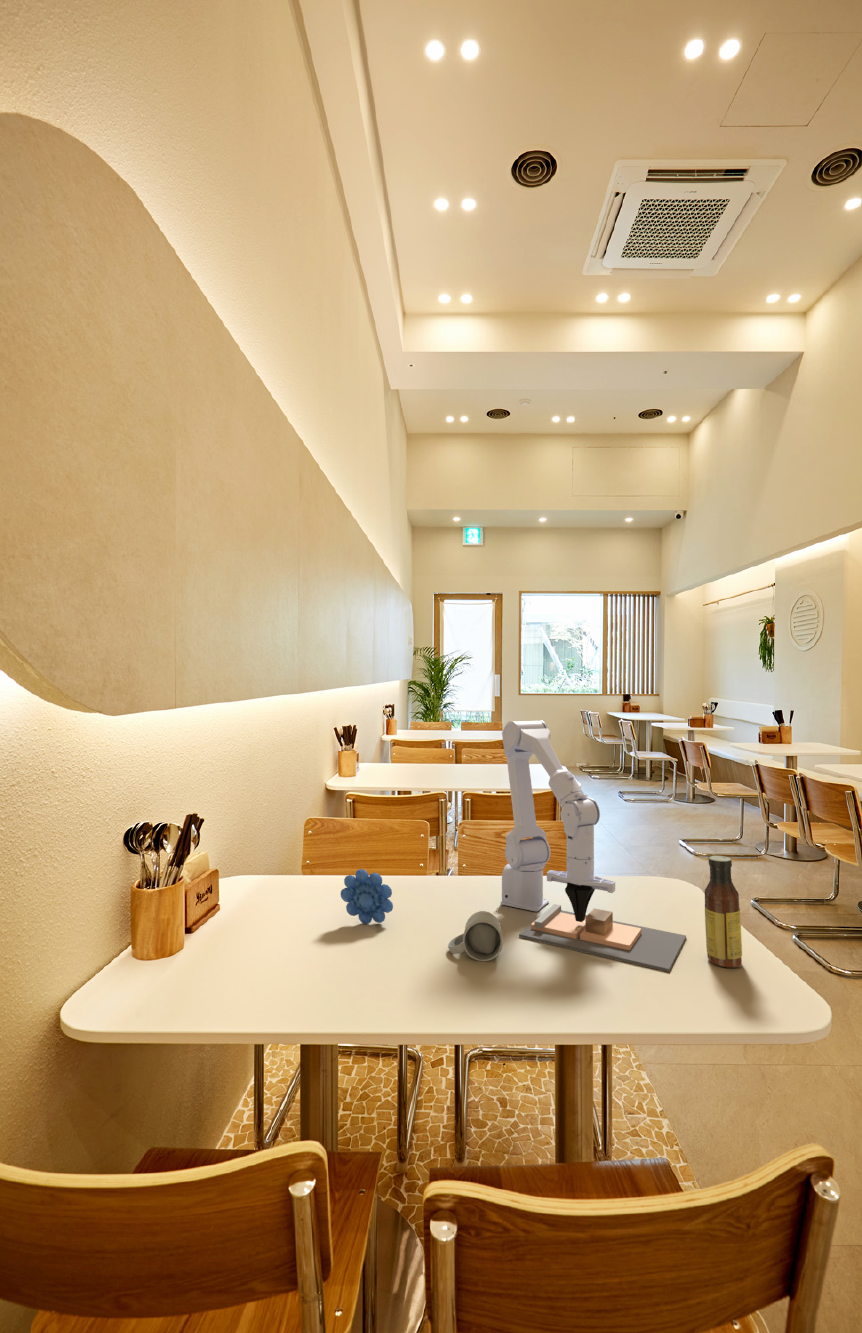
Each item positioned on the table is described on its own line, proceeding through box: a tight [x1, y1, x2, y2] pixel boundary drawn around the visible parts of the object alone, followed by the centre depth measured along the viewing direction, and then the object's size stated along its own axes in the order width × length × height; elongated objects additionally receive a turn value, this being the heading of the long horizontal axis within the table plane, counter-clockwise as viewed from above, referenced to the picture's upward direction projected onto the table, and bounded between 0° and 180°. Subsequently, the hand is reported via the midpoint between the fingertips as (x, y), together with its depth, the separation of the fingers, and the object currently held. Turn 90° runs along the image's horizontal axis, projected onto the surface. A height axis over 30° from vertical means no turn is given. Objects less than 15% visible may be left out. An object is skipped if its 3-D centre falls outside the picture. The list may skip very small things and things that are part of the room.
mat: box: [518, 909, 687, 973], centre depth 132 cm, size 30×18×1 cm, turn 59°
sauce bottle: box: [704, 855, 743, 969], centre depth 121 cm, size 6×6×20 cm
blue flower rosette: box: [340, 868, 394, 925], centre depth 138 cm, size 12×7×12 cm, turn 91°
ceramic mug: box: [447, 910, 504, 962], centre depth 125 cm, size 11×8×8 cm
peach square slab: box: [580, 908, 641, 951], centre depth 131 cm, size 10×10×4 cm
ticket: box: [530, 903, 585, 939], centre depth 137 cm, size 10×12×2 cm
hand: (580, 920), depth 134 cm, fingers closed
